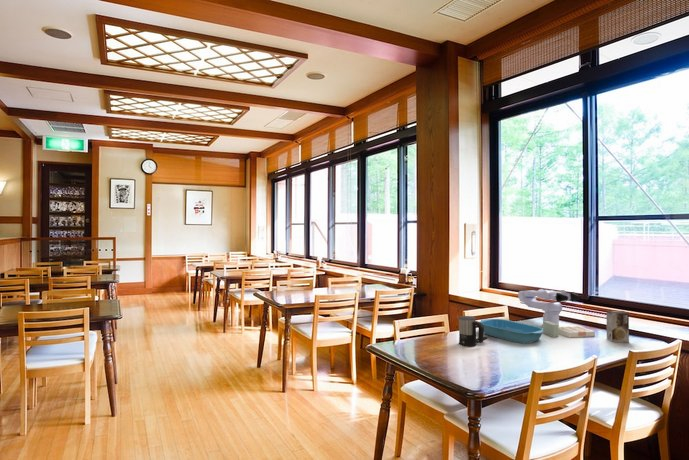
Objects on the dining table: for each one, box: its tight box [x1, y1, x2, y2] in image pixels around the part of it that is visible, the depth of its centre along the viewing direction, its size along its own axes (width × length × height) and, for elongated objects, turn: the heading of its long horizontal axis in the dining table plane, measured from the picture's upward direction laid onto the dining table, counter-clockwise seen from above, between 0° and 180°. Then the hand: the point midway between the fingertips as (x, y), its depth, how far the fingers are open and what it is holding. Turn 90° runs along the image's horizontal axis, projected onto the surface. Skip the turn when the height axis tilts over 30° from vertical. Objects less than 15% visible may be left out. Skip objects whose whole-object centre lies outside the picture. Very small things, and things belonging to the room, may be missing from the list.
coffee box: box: [606, 310, 630, 343], centre depth 240 cm, size 9×6×16 cm
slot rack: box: [558, 325, 596, 339], centre depth 255 cm, size 14×16×3 cm
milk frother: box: [458, 315, 489, 348], centre depth 235 cm, size 14×16×15 cm
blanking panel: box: [542, 320, 559, 338], centre depth 253 cm, size 10×3×7 cm, turn 9°
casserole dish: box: [479, 318, 544, 344], centre depth 249 cm, size 37×22×7 cm, turn 37°
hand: (573, 298), depth 252 cm, fingers open, 7 cm apart
